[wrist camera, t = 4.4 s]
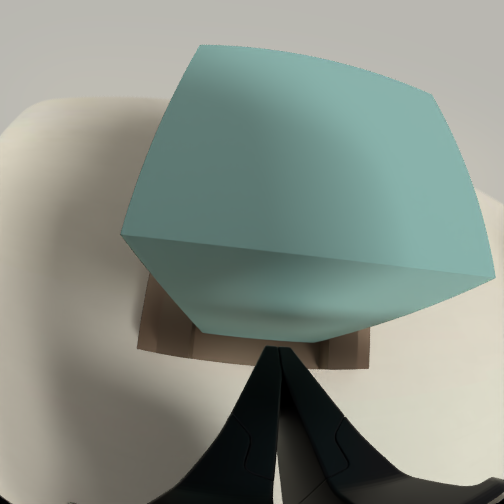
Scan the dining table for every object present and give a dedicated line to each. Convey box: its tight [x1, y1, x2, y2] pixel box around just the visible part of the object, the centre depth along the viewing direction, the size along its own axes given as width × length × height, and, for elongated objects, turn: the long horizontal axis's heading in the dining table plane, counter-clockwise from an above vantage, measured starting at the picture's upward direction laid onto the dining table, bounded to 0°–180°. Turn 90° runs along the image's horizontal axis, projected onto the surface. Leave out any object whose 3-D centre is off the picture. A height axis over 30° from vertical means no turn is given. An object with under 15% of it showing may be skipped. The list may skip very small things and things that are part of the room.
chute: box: [137, 273, 370, 370], centre depth 16 cm, size 15×13×5 cm
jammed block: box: [120, 45, 496, 343], centre depth 10 cm, size 5×6×12 cm
